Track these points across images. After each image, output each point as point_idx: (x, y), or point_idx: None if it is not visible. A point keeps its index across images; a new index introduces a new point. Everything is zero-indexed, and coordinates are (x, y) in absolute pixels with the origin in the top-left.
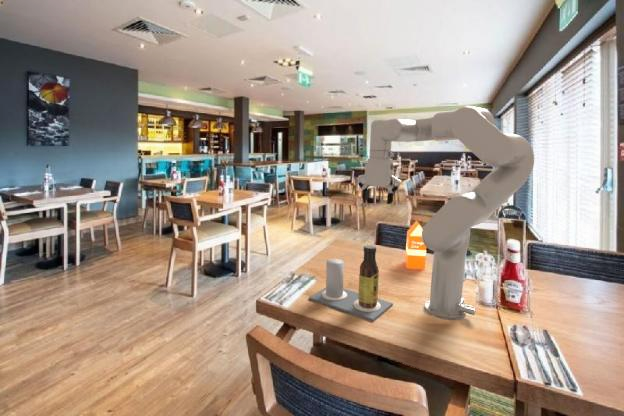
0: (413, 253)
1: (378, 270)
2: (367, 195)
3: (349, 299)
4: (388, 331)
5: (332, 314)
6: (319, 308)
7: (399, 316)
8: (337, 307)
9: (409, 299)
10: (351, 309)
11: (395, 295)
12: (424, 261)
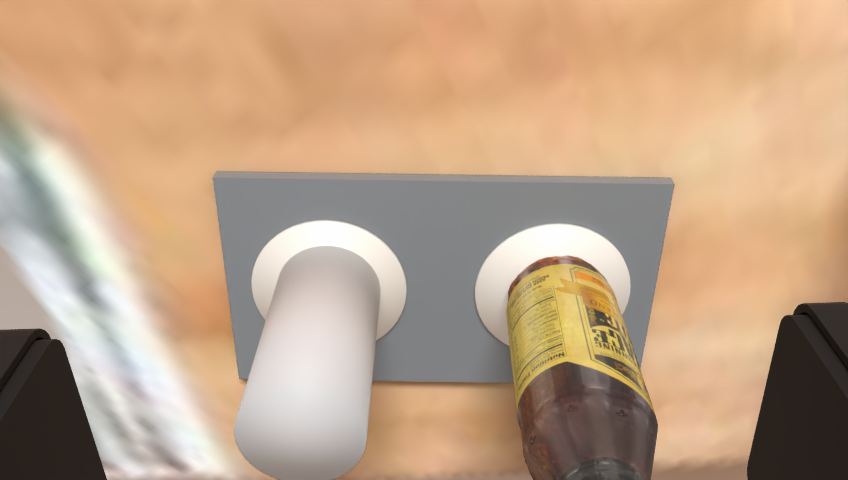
0: None
1: (656, 423)
2: (12, 476)
3: (433, 285)
4: (723, 404)
5: (437, 419)
6: None
7: (738, 268)
8: (428, 379)
9: (749, 35)
10: (502, 366)
11: (645, 33)
12: None
